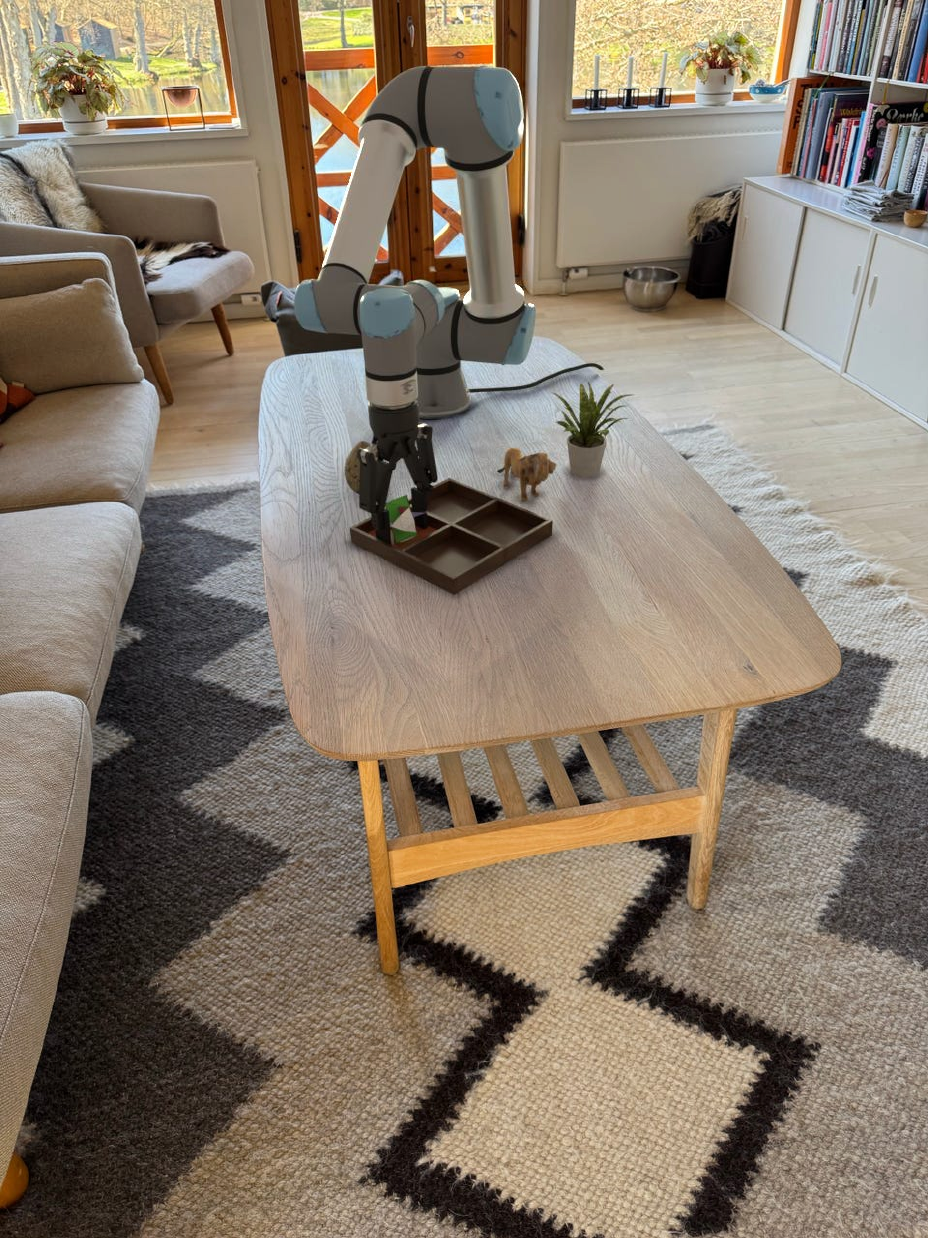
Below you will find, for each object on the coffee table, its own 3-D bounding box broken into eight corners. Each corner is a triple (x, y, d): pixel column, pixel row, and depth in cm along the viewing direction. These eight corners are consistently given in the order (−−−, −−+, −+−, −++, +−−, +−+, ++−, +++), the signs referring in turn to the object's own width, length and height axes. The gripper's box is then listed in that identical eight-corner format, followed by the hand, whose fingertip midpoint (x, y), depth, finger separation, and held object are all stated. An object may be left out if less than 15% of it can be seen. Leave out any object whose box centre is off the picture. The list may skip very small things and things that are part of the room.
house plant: (647, 478, 169) (656, 390, 159) (586, 498, 163) (591, 409, 153) (597, 449, 179) (602, 366, 169) (537, 468, 173) (539, 382, 163)
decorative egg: (382, 482, 170) (378, 430, 164) (392, 499, 164) (388, 446, 158) (343, 488, 168) (337, 436, 162) (352, 506, 162) (346, 453, 157)
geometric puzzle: (365, 519, 153) (379, 494, 146) (400, 505, 156) (415, 481, 149) (387, 556, 151) (402, 533, 145) (422, 541, 155) (438, 518, 148)
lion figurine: (559, 501, 162) (561, 453, 157) (534, 510, 160) (535, 461, 155) (508, 470, 172) (508, 424, 167) (484, 478, 170) (484, 431, 165)
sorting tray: (449, 491, 166) (449, 477, 164) (552, 535, 153) (552, 520, 151) (350, 542, 152) (349, 527, 151) (454, 595, 139) (453, 579, 138)
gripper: (358, 428, 131) (371, 568, 144) (458, 386, 143) (462, 519, 156) (323, 414, 135) (339, 551, 148) (423, 374, 147) (430, 505, 160)
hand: (402, 535), depth 152 cm, fingers closed on geometric puzzle, 7 cm apart
